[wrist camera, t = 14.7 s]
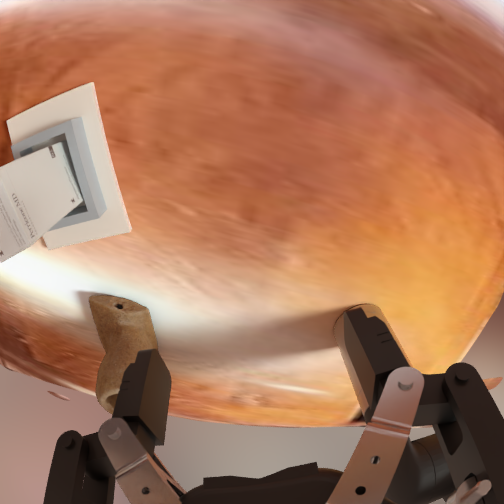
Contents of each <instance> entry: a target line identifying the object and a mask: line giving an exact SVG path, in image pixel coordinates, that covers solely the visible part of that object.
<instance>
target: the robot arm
mask: <svg viewBox="0 0 504 504" xmlns="http://www.w3.org/2000/svg"><path fill="white" fill-rule="evenodd" d="M334 335H335V338H336V341H337V344H338V346H339V349H340V352H341V355H342V357H343V360H344V363H345V365H346V368H347V371H348V374H349V376H350V379H351V382H352V385H353V387H354V390H355V393H356V396H357V399H358V401H359V404H360V407H361V410H362V413H363V415H364V419H365V421H366V427H365V429H364V432H363V434H362V436H361V438H360V441H359V442H358V445H357V447H356V449H355V451H354V453H353V455H352V457H351V459H350V461H349V463H348V465H347V467H346V469H345V470H344V472H341V471H338V470H334V469H328V468H318V466H317V462H314V463H310V464H304V465H300V466H295V467H289V468H286V469H284V470H281V471H279V472H276V473H274V474H271V475H269V476H266V477H263V478H259V479H256V478H246V477H236V476H221V477H209V478H204V480H203V481H204V482H203V485H200V486H198V487H196V488H194V489H192V490H190V491H188V492H186V491H185V490H184V489H183V488H182V487H181V486H180V485H179V483H178V482H177V481H176V480H175V479H174V477H173V476H172V475H171V474H170V472H169V471H168V470H167V469H166V467H165V466H164V465H163V463H162V462H161V461H160V459H159V458H158V457H157V455H156V454H155V453H154V448H155V446H157V445H164V440H165V431H166V421H167V414H168V406H169V398H170V391H171V376H170V373H169V370H168V369H167V367H166V365H165V363H164V361H163V360H162V358H161V356H160V354H159V352H158V351H157V349H155V348H154V349H147V350H140V351H138V353H137V357H136V360H135V363H130V365H129V366H128V367H127V369H126V370H125V371H124V374H123V378H122V381H121V382H122V383H121V385H120V388H119V389H120V391H119V392H118V396H117V400H116V404H115V407H114V411H113V415H112V418H111V419H109V420H107V421H105V422H104V423H103V424H102V425H101V427H100V429H99V431H98V432H96V433H93V434H89V435H86V436H81V435H80V434H79V433H78V432H77V431H74V430H70V431H67V432H65V433H64V434H62V435H61V436H60V437H59V439H58V440H57V443H56V447H55V451H54V455H53V459H52V464H51V468H50V473H49V477H48V482H47V487H46V492H45V497H44V503H43V504H113V500H114V489H115V479H116V480H117V482H118V484H119V485H120V487H121V489H122V490H123V492H124V494H125V495H126V497H127V498H128V500H129V502H130V503H131V504H429V503H431V502H433V501H436V500H438V499H441V498H443V499H444V501H445V502H446V504H504V419H503V417H502V415H501V413H500V411H499V409H498V407H497V406H496V404H495V402H494V400H493V398H492V396H491V395H490V393H489V392H488V389H487V387H486V386H485V384H484V382H483V380H482V379H481V377H480V375H479V374H478V372H477V370H476V369H475V368H474V367H473V366H471V365H470V364H467V363H455V364H453V365H451V366H450V367H449V368H448V369H447V371H446V373H443V374H431V375H427V374H421V372H419V371H418V370H417V369H415V368H413V366H412V365H411V363H410V361H409V359H408V357H407V355H406V353H405V352H404V350H403V348H402V346H401V344H400V342H399V341H398V339H397V337H396V335H395V334H394V332H393V330H392V328H391V326H390V325H389V323H388V321H387V319H386V318H385V316H384V314H383V312H382V311H381V310H380V308H378V307H377V306H375V305H371V304H364V305H359V306H355V307H353V308H351V309H349V310H348V311H344V313H343V315H341V316H340V318H339V319H338V320H337V322H336V324H335V326H334ZM425 425H432V426H433V428H434V430H435V433H436V434H433V435H430V436H427V437H424V438H420V439H417V440H414V441H410V438H409V434H410V429H411V427H412V426H425ZM84 474H85V475H84ZM83 480H84V481H83ZM82 487H83V488H82Z"/></svg>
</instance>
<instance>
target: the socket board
mask: <svg viewBox="0 0 504 504" xmlns="http://www.w3.org/2000/svg"><path fill="white" fill-rule="evenodd" d="M7 126H8V130H9V134H10V138H11V142H12V146H11V149H12V153H13V157H14V160H16V159H18V158H21V157H24V156H26V155H28V154H31V153H33V152H36V151H38V150H41V149H43V148H46V147H48V146H51V145H53V144H56V143H59V142H61V141H64V140H67V143H68V147H69V151H70V154H71V158H72V162H73V165H74V169H75V172H76V175H77V179H78V182H79V185H80V188H81V192H82V195H83V198H84V201H83V202H81V203H80V204H79V205H78V206H77V207H75V208H74V209H73V210H72V211H70V212H69V213H68V214H67V215H66V216H64V217H63V218H62V219H61V220H60V221H59V222H57V223H56V224H55V225H54V226H53V227H52V228H51V229H49V230H48V231H47V232H46V233H45V234H44V235H43V238H44V241H45V243H46V246H47V248H48V250H52V249H56V248H60V247H64V246H69V245H73V244H78V243H82V242H87V241H91V240H96V239H100V238H105V237H109V236H114V235H119V234H124V233H129V232H130V231H131V230H132V227H131V224H130V221H129V218H128V215H127V212H126V209H125V205H124V202H123V199H122V195H121V192H120V189H119V185H118V182H117V178H116V175H115V171H114V167H113V164H112V160H111V156H110V152H109V148H108V144H107V140H106V136H105V132H104V128H103V124H102V119H101V115H100V111H99V106H98V101H97V96H96V92H95V87H94V82H90V83H88V84H85V85H82V86H80V87H77V88H75V89H72V90H70V91H68V92H65V93H63V94H60V95H58V96H56V97H54V98H51V99H49V100H47V101H45V102H43V103H40V104H38V105H36V106H34V107H32V108H30V109H28V110H26V111H24V112H22V113H20V114H18V115H16V116H14V117H13V118H11V119H9V120H7Z"/></svg>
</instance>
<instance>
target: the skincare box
mask: <svg viewBox="0 0 504 504" xmlns="http://www.w3.org/2000/svg"><path fill="white" fill-rule="evenodd" d="M83 201H84V198H83V195H82V192H81V188H80V185H79V182H78V179H77V175H76V172H75V169H74V165H73V162H72V158H71V154H70V151H69V147H68V143H67V140H64V141H61V142H59V143H56V144H53V145H51V146H48V147H46V148H43V149H41V150H38V151H36V152H33V153H31V154H28V155H26V156H24V157H21V158H18V159H16V160H14V161H12V162H10V163H8V164H6V165H3V166H1V167H0V262H3V261H5V260H7V259H9V258H11V257H12V256H14V255H16V254H18V253H19V252H21V251H23V250H25V249H26V248H28V247H30V246H31V245H33V244H34V243H35V242H36V241H37V240H38V239H39V238H40V237H42V236H43V235H44V234H45V233H46V232H47V231H48V230H49V229H51V228H52V227H53V226H54V225H55V224H56V223H57V222H59V221H60V220H61V219H62V218H63V217H64V216H66V215H67V214H68V213H69V212H70V211H72V210H73V209H74V208H75V207H77V206H78V205H79V204H80V203H81V202H83Z"/></svg>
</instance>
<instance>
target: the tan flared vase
mask: <svg viewBox="0 0 504 504" xmlns="http://www.w3.org/2000/svg"><path fill="white" fill-rule="evenodd" d="M89 303H90V308H91V311H92V315H93V318H94V322H95V324H96V327H97V331H98V334H99V337H100V339H101V342H102V344H103V347H104V349H105V351H106V355H105V357H104V359H103V361H102V363H101V365H100V367H99V371H98V376H97V383H96V396H97V399H98V402H99V403H100V405H101V406H102V407H103V408H104V409H105V410H106V411H108V412H109V413H111V414H112V415H113V411H114V407H115V404H116V400H117V396H118V392H119V391H120V389H119V388H120V385H121V383H122V382H121V381H122V378H123V374H124V371H125V370H126V369H127V367H128V366H129V365H130V363H135V360H136V357H137V353H138V351H140V350H147V349H154V348H155V349H157V351H158V346H157V340H156V336H155V332H154V328H153V324H152V320H151V316H150V313H149V310H148V309H147V308H146V307H144V306H142V305H140V304H138V303H136V302H133V301H131V300H127V299H125V298H118V297H114V296H104V295H98V296H91V297H90V298H89Z"/></svg>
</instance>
